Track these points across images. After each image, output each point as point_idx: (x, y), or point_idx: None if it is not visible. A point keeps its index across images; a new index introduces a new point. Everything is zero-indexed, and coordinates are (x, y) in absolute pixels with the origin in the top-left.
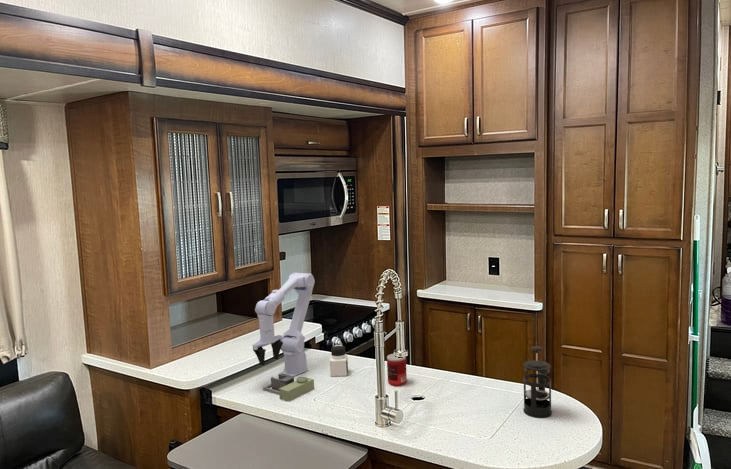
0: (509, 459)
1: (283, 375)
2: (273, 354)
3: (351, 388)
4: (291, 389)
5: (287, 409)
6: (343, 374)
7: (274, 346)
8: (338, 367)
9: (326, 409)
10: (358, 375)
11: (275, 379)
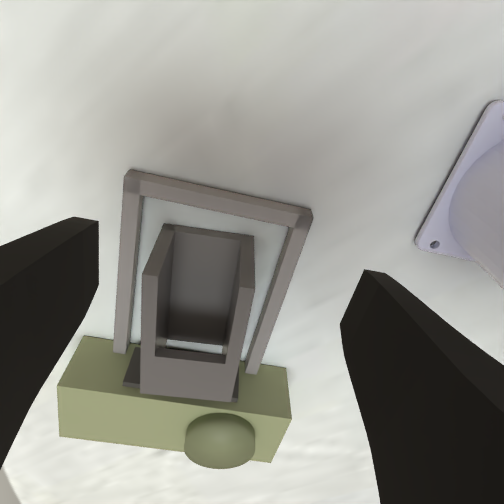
0: None
1: (232, 333)
2: (391, 307)
3: (318, 499)
4: (90, 439)
5: None
6: None
7: (452, 497)
8: None
9: (113, 501)
10: None
11: (141, 316)
